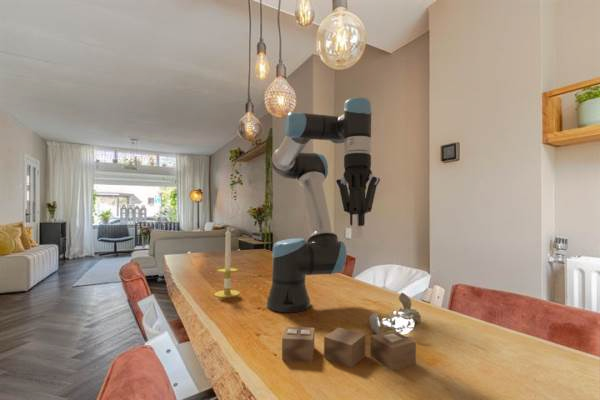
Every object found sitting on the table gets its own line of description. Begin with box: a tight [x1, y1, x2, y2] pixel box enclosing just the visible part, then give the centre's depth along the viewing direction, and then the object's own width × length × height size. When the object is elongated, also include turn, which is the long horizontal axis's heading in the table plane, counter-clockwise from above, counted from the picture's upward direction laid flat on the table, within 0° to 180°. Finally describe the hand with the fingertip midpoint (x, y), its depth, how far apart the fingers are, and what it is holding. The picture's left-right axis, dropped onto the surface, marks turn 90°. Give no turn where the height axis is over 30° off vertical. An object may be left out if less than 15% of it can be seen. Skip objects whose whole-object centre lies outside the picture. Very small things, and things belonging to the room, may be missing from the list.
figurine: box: [369, 310, 415, 335], centre depth 85 cm, size 9×6×12 cm
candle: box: [214, 227, 241, 299], centre depth 121 cm, size 10×10×27 cm
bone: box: [398, 292, 422, 325], centre depth 92 cm, size 9×6×10 cm
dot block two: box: [281, 326, 315, 363], centre depth 72 cm, size 7×7×5 cm
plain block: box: [323, 327, 366, 369], centre depth 70 cm, size 7×7×5 cm
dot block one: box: [370, 330, 417, 372], centre depth 69 cm, size 7×7×5 cm
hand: (357, 237), depth 85 cm, fingers closed
